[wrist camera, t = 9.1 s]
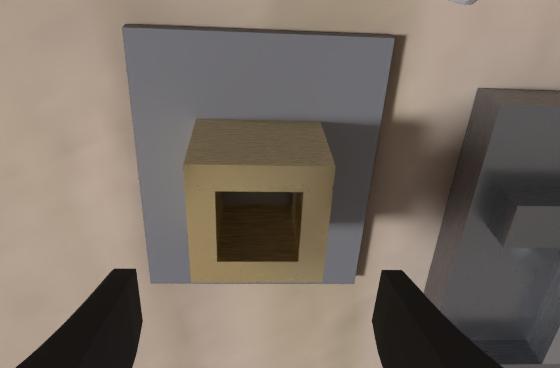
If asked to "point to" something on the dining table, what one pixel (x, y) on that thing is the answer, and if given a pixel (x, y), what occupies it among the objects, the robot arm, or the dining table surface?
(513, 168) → the vise
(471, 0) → the hinge
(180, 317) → the dining table surface
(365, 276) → the dining table surface
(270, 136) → the collar
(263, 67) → the mat
